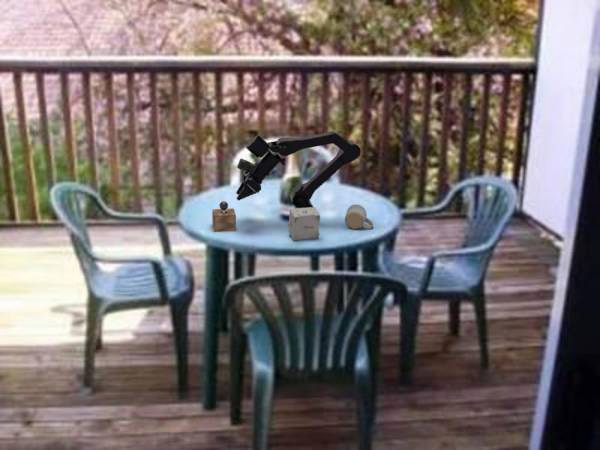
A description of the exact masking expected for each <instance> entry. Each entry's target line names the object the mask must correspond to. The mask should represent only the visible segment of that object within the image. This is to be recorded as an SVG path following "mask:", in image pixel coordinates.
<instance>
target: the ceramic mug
mask: <svg viewBox="0 0 600 450" xmlns="http://www.w3.org/2000/svg"><path fill="white" fill-rule="evenodd" d="M344 217H345V218H344V221H345V224H346V226H347V227H348V228H349V229H352V230H358V229H360V228H362V227H363V228H365V229H368V230H370V229H371V230H372V229H373V227H374V223H373V221H372V220H371V219H369V218H367V210H366V209H365V208H364V206H362V205H360V204H352V205H350V206H349V207H348V208H347V210H346V213H345V216H344Z"/></svg>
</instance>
